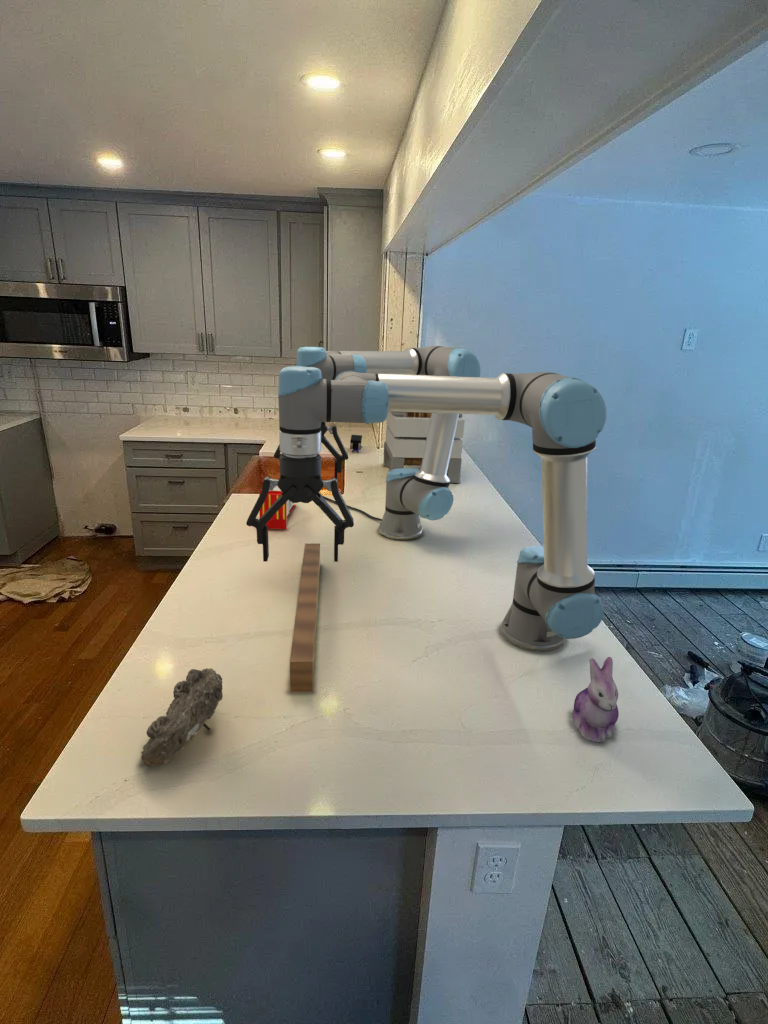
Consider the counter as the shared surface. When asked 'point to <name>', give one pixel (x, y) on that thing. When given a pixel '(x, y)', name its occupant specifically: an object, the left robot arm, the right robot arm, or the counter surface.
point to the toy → (280, 516)
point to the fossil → (183, 716)
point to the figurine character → (355, 442)
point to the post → (305, 622)
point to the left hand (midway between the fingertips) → (311, 483)
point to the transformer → (417, 442)
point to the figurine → (597, 703)
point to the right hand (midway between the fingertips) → (301, 559)
